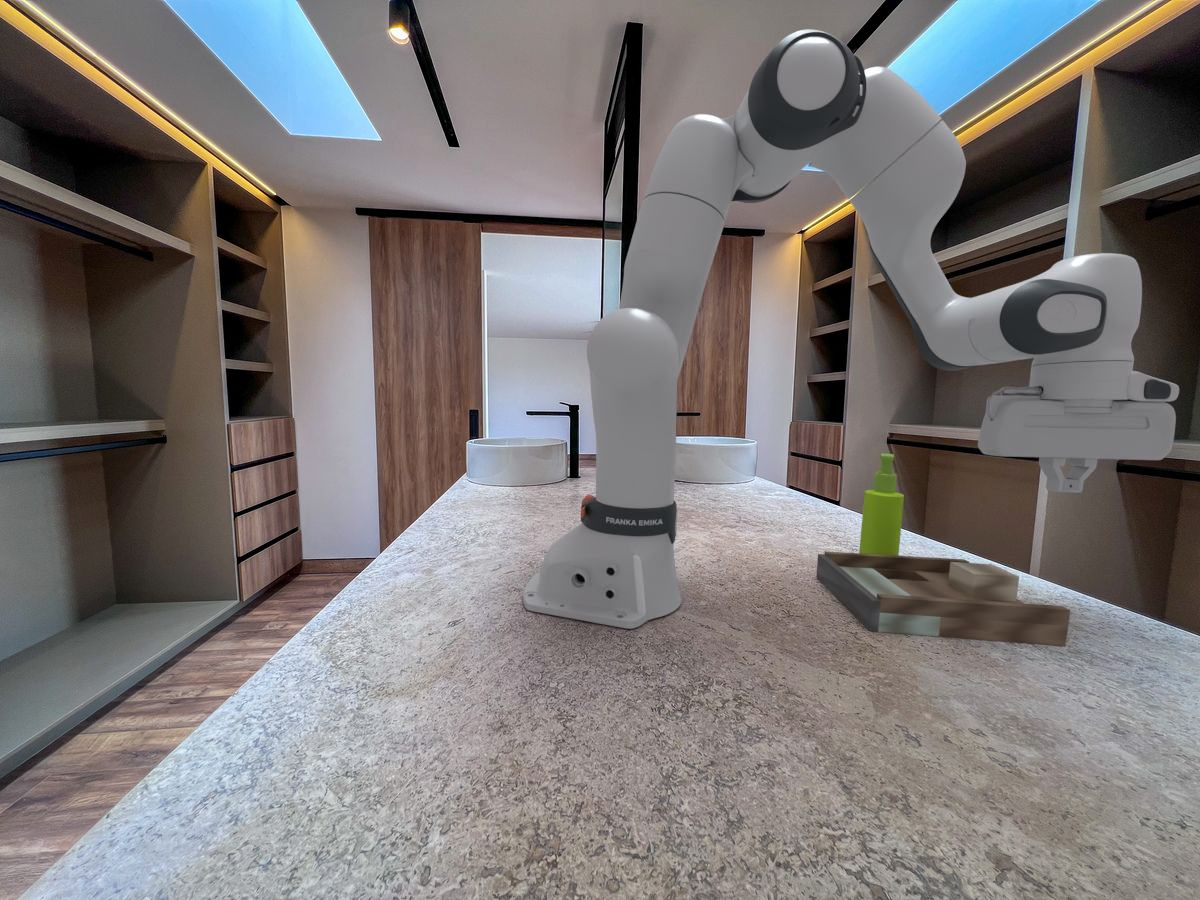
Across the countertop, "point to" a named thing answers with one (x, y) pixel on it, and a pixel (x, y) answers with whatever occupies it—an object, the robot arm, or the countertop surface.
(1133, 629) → the countertop surface
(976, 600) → the board
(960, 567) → the maple block
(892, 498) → the soap dispenser
